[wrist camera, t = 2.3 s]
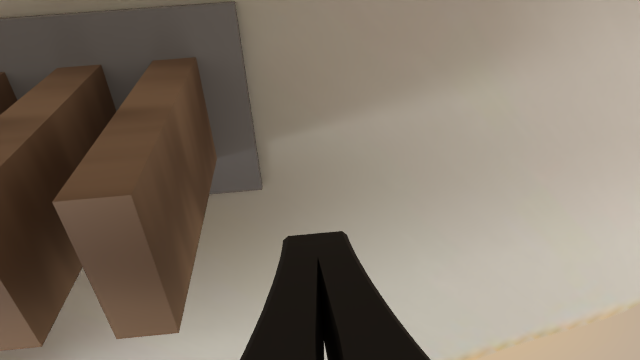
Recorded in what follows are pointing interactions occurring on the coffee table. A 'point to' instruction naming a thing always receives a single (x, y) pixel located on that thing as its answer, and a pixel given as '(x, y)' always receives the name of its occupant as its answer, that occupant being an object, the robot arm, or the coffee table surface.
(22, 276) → the walnut tile
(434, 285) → the coffee table surface
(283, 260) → the robot arm
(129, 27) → the grey flat rectangular plate
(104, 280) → the walnut tile
